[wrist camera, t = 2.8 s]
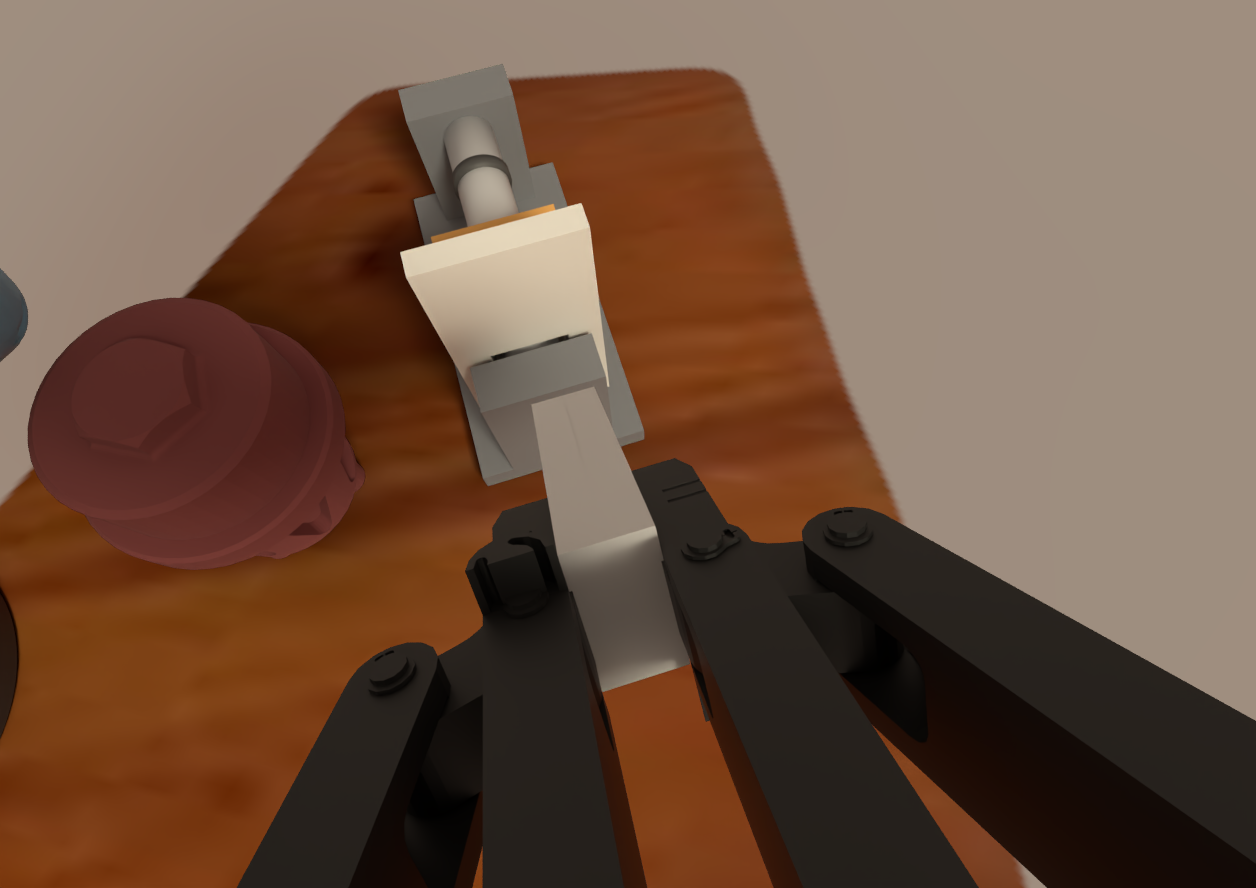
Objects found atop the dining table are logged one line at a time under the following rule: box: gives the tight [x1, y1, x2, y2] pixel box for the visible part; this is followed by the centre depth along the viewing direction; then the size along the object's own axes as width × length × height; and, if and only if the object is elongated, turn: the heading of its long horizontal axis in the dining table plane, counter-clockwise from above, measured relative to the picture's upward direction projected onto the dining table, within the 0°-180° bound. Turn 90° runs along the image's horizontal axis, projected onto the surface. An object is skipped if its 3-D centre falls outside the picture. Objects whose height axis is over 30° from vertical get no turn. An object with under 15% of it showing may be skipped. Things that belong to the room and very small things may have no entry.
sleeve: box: [400, 203, 609, 407], centre depth 29 cm, size 4×6×12 cm, turn 107°
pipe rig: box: [398, 64, 644, 486], centre depth 34 cm, size 17×8×8 cm, turn 17°
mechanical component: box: [28, 298, 365, 570], centre depth 29 cm, size 12×10×10 cm
